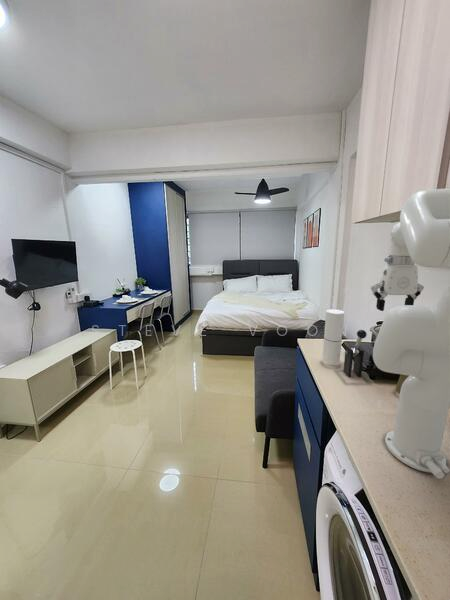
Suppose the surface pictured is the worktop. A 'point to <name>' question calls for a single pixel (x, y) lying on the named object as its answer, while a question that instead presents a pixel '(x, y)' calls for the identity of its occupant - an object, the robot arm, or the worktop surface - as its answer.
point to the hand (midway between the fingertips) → (393, 309)
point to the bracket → (357, 362)
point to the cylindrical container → (333, 336)
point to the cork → (401, 382)
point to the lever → (358, 342)
